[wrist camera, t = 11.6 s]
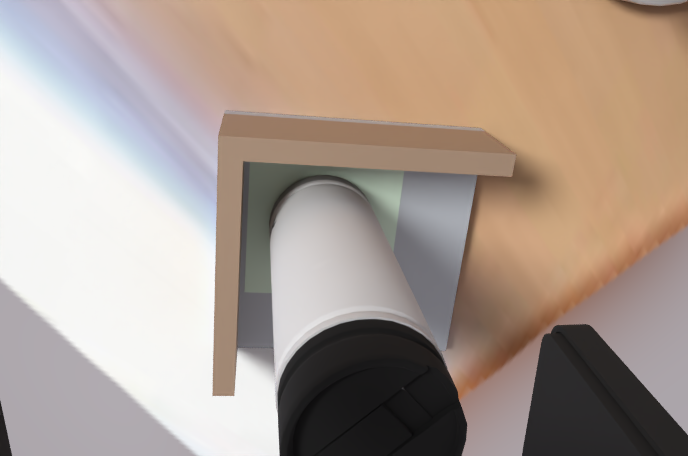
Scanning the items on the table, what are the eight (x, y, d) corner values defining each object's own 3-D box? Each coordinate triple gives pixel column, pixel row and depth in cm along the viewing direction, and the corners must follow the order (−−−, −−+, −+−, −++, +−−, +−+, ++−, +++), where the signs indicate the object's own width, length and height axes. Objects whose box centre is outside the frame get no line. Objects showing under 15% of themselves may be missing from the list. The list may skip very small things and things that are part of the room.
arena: (480, 128, 38) (516, 154, 33) (442, 344, 43) (467, 396, 38) (224, 110, 36) (218, 135, 30) (219, 340, 41) (212, 395, 36)
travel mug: (242, 222, 37) (225, 465, 19) (329, 151, 36) (400, 334, 18) (310, 293, 40) (353, 570, 21) (393, 228, 39) (514, 459, 20)
